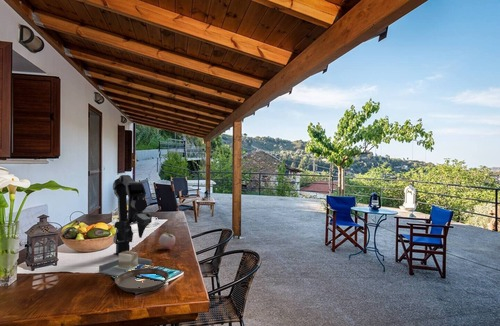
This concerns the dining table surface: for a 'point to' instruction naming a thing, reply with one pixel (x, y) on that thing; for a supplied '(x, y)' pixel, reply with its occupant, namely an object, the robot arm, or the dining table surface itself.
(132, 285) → the plant saucer
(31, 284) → the dining table surface
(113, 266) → the corner arena
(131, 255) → the birch block
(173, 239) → the decorative fruit
